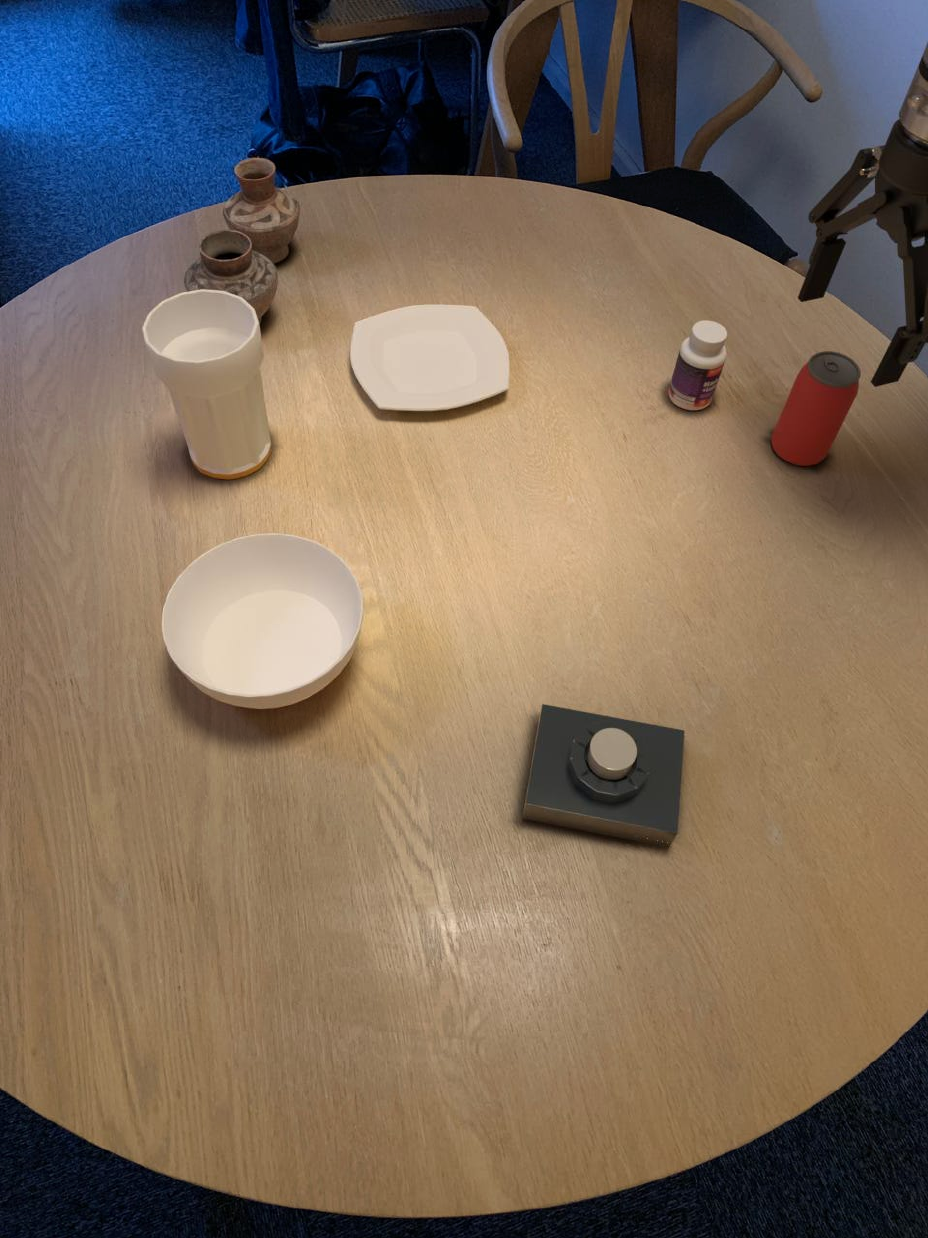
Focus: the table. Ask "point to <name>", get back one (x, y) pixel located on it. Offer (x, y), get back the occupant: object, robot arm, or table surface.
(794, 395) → the beer can
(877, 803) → the table surface
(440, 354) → the plate
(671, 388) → the pill bottle
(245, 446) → the cup
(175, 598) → the bowl
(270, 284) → the pottery
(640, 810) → the beige button cap base
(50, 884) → the table surface
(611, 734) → the beige button cap
